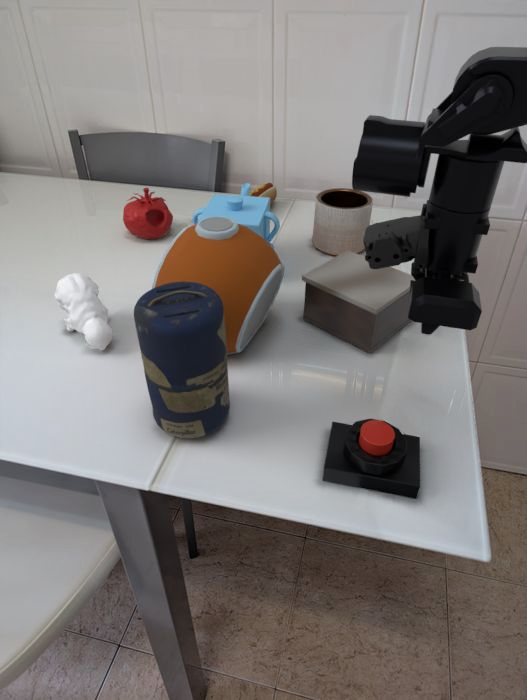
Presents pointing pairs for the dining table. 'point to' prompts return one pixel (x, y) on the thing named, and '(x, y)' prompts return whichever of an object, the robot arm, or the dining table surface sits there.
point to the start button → (376, 437)
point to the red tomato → (147, 216)
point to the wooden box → (354, 318)
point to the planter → (341, 220)
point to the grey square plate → (360, 281)
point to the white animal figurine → (84, 309)
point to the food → (265, 192)
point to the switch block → (373, 462)
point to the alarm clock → (227, 272)
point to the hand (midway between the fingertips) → (425, 332)
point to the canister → (184, 357)
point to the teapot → (242, 212)
